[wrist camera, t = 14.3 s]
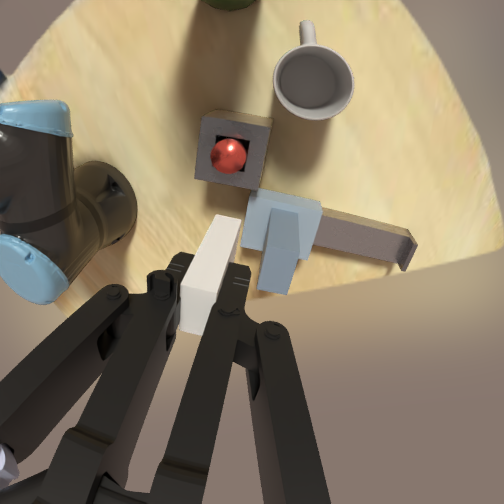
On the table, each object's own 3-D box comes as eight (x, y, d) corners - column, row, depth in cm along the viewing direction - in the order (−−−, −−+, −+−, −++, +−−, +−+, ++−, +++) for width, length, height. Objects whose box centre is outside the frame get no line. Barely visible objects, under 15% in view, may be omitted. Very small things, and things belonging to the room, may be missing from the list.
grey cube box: (209, 161, 44) (194, 178, 37) (216, 109, 40) (201, 116, 33) (262, 171, 44) (257, 190, 37) (273, 118, 40) (270, 127, 33)
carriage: (243, 233, 48) (228, 290, 37) (252, 186, 44) (238, 231, 32) (306, 247, 48) (310, 306, 37) (320, 200, 44) (331, 250, 32)
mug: (340, 110, 38) (356, 121, 29) (278, 112, 39) (275, 122, 30) (334, 29, 32) (349, 13, 23) (270, 30, 33) (264, 14, 24)
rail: (246, 221, 49) (242, 236, 45) (251, 192, 46) (247, 205, 42) (396, 254, 49) (405, 271, 45) (408, 229, 46) (418, 244, 42)
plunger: (223, 152, 42) (208, 170, 35) (227, 125, 40) (212, 137, 33) (251, 157, 42) (242, 176, 35) (256, 130, 40) (248, 143, 33)
